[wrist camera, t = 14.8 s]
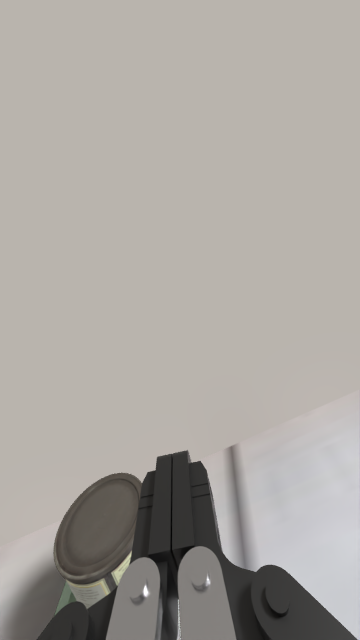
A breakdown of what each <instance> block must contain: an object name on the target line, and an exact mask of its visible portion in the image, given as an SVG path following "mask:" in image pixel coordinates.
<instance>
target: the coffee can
mask: <svg viewBox="0 0 360 640" xmlns="http://www.w3.org/2000/svg"><path fill="white" fill-rule="evenodd" d="M141 487H142V483H141V482H140V480H139V479H138V478H137V477H135V476H133V475H131V474H128V473H117V474H112V475H109V476H106V477H104V478H102V479H100V480H98V481H97V482H95V483H94V484H92V485H91V486H90V487H88V488H87V489H86V490H85V491H84V492H83V493H82V494H81V495H80V496H79V497H78V498H77V499H76V500H75V501H74V503H73V504H72V505H71V507H70V508H69V510H68V512H67V513H66V514H65V516H64V518H63V520H62V522H61V524H60V526H59V529H58V531H57V534H56V538H55V543H54V561H55V564H56V567H57V569H58V571H59V572H60V574H61V575H62V576H63V577H64V578H65V580H66V582H67V583H68V585H69V587H70V589H71V591H72V593H73V594H74V596H75V598H76V600H77V601H78V602H81V603H83V604H84V605H85V606H86V608H87V609H88V608H89V607H91V606H92V605H93V604H95V603H96V602H98V601H99V600H101V599H102V598H104V597H105V596H107V595H108V594H109V593H111V592H112V591H113V590H114V589H115V588H116V587H117V586H118V584H119V581H120V579H121V577H122V575H123V573H124V571H125V570H126V569H127V567H128V566H129V563H130V559H131V553H132V547H133V540H134V533H135V527H136V520H137V513H138V507H139V500H140V493H141Z"/></svg>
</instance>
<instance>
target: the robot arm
mask: <svg viewBox="0 0 360 640" xmlns="http://www.w3.org/2000/svg"><path fill="white" fill-rule="evenodd" d="M178 599H179V610H180V626H181V640H357V639H356V638H355V637H354V636H353V635H352V634H351V633H350V632H349V631H348V630H347V629H346V628H345V627H344V626H343V625H342V624H341V623H340V622H339V621H338V620H337V619H336V618H335V617H334V616H332V615H331V614H330V613H329V612H328V611H327V610H326V609H325V608H324V607H323V606H322V605H321V604H320V603H319V602H318V601H317V600H316V599H315V598H314V597H313V596H312V595H311V594H310V593H309V592H308V591H306V590H305V589H304V588H303V587H302V586H301V585H300V584H299V583H298V582H297V581H296V580H295V579H294V578H293V577H292V576H291V575H290V574H289V573H288V572H286V571H285V570H284V569H282V568H280V567H278V566H275V565H265V566H263V567H261V568H260V569H259V570H258V571H257V572H253V571H250V570H246V569H243V568H240V567H237V566H235V565H234V564H232V563H231V562H230V561H229V560H228V559H227V558H226V557H225V555H224V554H223V552H222V547H221V541H220V535H219V530H218V524H217V518H216V512H215V506H214V500H213V495H212V491H211V487H210V483H209V479H208V474H207V470H206V469H205V467H204V466H203V464H202V463H201V461H198V462H193V463H191V460H190V455H189V452H188V451H182V452H178V453H173V454H168V455H164V456H159V457H157V463H156V471H151V472H148V473H147V475H146V477H145V479H144V481H143V483H142V487H141V493H140V500H139V507H138V513H137V520H136V527H135V533H134V540H133V547H132V553H131V559H130V563H129V566H128V567H127V569H126V570H125V571H124V573H123V575H122V577H121V579H120V581H119V584H118V586H117V587H116V588H115V589H114V590H113V591H112V592H111V593H109V594H108V595H107V596H105V597H104V598H102V599H101V600H99V601H98V602H96V603H95V604H93V605H92V606H91V607H89V608H88V609H87V608H86V606H85V605H84V604H83V603H81V602H78V601H75V602H71V603H69V604H67V605H65V606H64V607H63V608H62V609H61V610H60V611H59V612H58V613H57V614H56V615H55V616H54V617H53V619H52V620H51V621H50V623H49V624H48V625H47V627H46V628H45V629H44V631H43V632H42V633H41V635H40V636H39V637H38V639H37V640H180V632H179V626H178Z"/></svg>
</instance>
